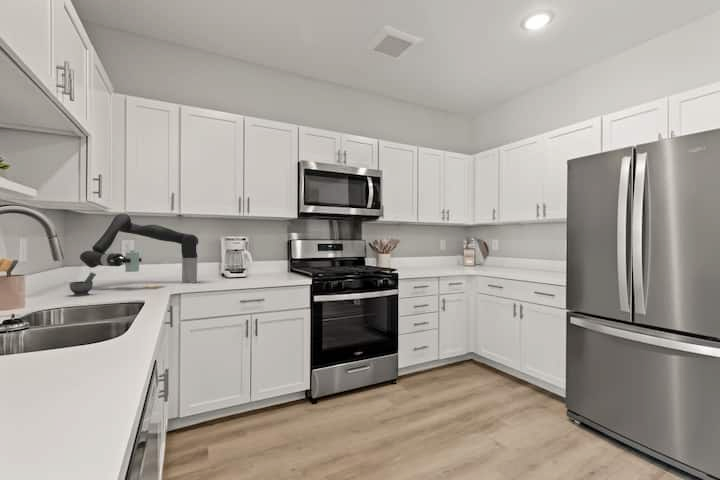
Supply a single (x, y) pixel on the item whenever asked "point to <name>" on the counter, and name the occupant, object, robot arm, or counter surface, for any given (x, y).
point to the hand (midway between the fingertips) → (135, 260)
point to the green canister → (132, 261)
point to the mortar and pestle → (82, 286)
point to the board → (153, 288)
